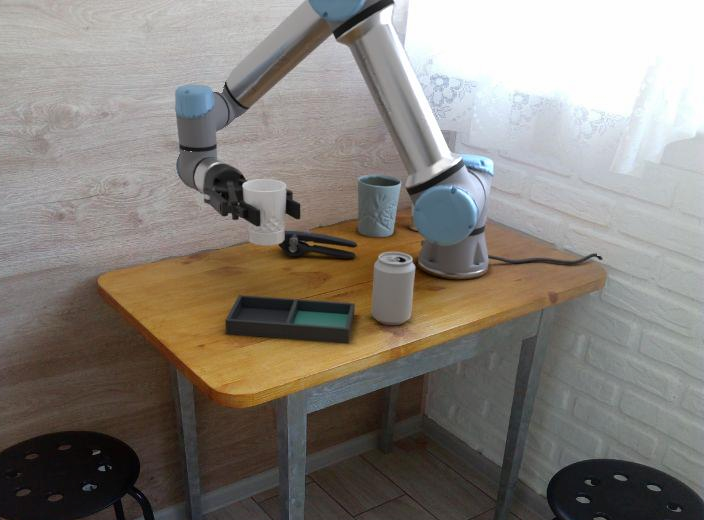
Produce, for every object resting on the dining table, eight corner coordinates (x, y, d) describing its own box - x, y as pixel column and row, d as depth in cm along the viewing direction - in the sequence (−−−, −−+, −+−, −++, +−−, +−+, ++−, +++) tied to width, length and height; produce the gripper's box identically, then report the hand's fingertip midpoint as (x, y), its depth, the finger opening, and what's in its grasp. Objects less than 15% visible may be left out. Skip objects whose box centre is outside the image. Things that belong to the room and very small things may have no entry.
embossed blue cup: (350, 226, 187) (352, 175, 180) (388, 223, 190) (392, 173, 183) (363, 240, 180) (366, 187, 172) (403, 236, 182) (408, 184, 175)
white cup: (280, 249, 140) (279, 193, 134) (239, 245, 141) (236, 189, 135) (292, 235, 146) (291, 181, 140) (252, 231, 147) (250, 177, 141)
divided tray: (354, 316, 145) (354, 303, 144) (348, 343, 136) (349, 329, 135) (239, 308, 147) (238, 294, 145) (226, 334, 138) (225, 320, 136)
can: (416, 324, 143) (422, 262, 136) (378, 328, 141) (382, 265, 134) (402, 308, 149) (407, 248, 142) (366, 312, 147) (369, 250, 140)
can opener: (274, 258, 168) (274, 233, 165) (280, 247, 174) (280, 222, 170) (355, 264, 167) (356, 239, 163) (358, 253, 172) (359, 228, 169)
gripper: (266, 195, 159) (326, 227, 144) (174, 209, 149) (228, 245, 134) (265, 156, 154) (327, 185, 139) (170, 169, 145) (226, 201, 130)
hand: (278, 215), depth 137 cm, fingers closed on white cup, 7 cm apart
